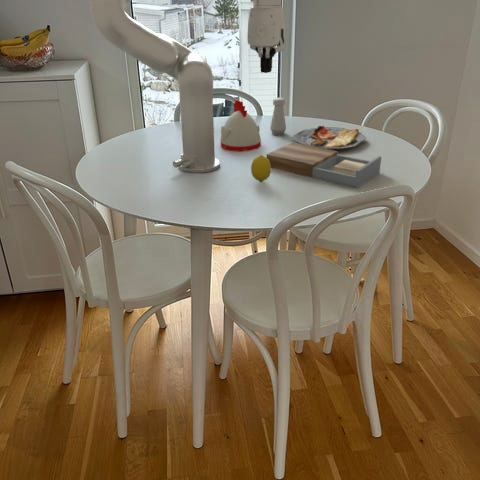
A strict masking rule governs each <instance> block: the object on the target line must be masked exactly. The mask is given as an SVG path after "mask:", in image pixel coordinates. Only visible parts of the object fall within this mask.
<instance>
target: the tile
mask: <svg viewBox="0 0 480 480" xmlns="http://www.w3.org/2000/svg"><path fill="white" fill-rule="evenodd" d="M364 165H366V164H363V163H358V162H353V161H348V160H344V161H342V162H340V163H339V164H337V165H335V166H334V172H338V173H343V174H347V175H352V176H356V170H358V169H359V168H361V167H362V166H364Z"/></svg>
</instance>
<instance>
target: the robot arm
mask: <svg viewBox="0 0 480 480" xmlns="http://www.w3.org/2000/svg"><path fill="white" fill-rule="evenodd" d="M131 2H132V0H89V8H90V15H91V19H92V22H93V24H94V26H95V28H96V29H97V31H98V32H99V34H100V35H101V36H102V37H103V38H104V39H105V40H106V41H107V42H108V43H109V44H111V45H112V46H114V47H115V48H117V49H119V50H121V51H123V52H124V53H126V54H127V55H129V56H130V57H131V58H133V59H135V60H137V61H138V62H140V63H142V64H143V65H145V66H147V67H148V68H150V69H151V70H153V71H154V72H156V73H164V74H166V75H167V76H170V78H171V77H172V78H174V79H175V80H177V81H178V90H179V92H178V93H179V109H180V113H179V114H180V121H181V122H180V123H181V139H182V153H181V154H180V158H179V159H176V160H174V161H173V162H172V166H173V168H175V169H176V168H178V169H180V170H181V171H184V172H187V173H188V172H189V173H193V174H195V173H197V174H201V173H209V172H212V171H215V170H217V169H219V168H220V166H221V161H220V160H219V159H217V158H216V157H215V156H216V155H215V131H214V130H215V128H214V124H215V123H214V104H213V103H214V75H213V71H212V69H211V66H210V65H209V63H208V62H207V61H206V59H204V58H203V56H201V55H200V54H198V53H196V52H194V51H193V50H191V49H190V48H188V47H186V46H185V45H183V44H182V43H180V42H178V40H175V39H174V38H171V37H170V36H168V35H166V34H163V33H156V32H155V31H153V30H151V29H149V28H148V27H145V25H143V24H142V23H140V22H138V21H137V20H134V19H133V18H132V17H131V16H129V15H128V14H127V12H126V10H125V9H126V7H127V6H128V5H129V4H130V3H131ZM250 2H252V3H253V6H251V7H250V10H249V14H248V22H247V35H246V37H247V39H246V40H247V44H248V45H249V48H250V49H251V50H253V51H255V52H256V53H257V55H258V57H259V58H260V61H259V62H260V63H259V64H260V66H259V67H260V73H264V74H267V73H271V72H272V71H273V70H272V69H273V58H274V57H275V55H276V54H277V53H279V52H283V51H284V49H285V47H284V45H285V39H286V27H285V26H286V23H285V22H286V21H285V13H284V7H282V0H250Z"/></svg>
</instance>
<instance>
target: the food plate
mask: <svg viewBox="0 0 480 480" xmlns="http://www.w3.org/2000/svg"><path fill="white" fill-rule="evenodd" d="M292 139H293V141H294V142H298V144H303V145H308V146H313V147H318V148H323V149H328V150H334V151H338V150H339V149H341V150H342V149H344V148H345V149H346V148H353V147H356V146H358V145H359V144H361V143H362V142H364V141H365V140H366V139H367V137H366V136H365V135H364V134H362V132H360V130H359V129H358V128H354V129H348V128H343V127H337V126H336V127H335V126H326V127H325V125H318V126H317V127H312V128H308V129H307V128H306V129H303V130H301V131H299V132H297V133H296V134H294V135H293V136H292Z"/></svg>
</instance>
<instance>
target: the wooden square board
mask: <svg viewBox="0 0 480 480" xmlns="http://www.w3.org/2000/svg"><path fill="white" fill-rule="evenodd" d="M337 154H338V150H334V149H333V150H332V149H323V148H318V147H313V146H309V145H305V144H302V143H299V142H298V143H297V142H291V143H289V144H286V145H284V146H282V147H280V148H277V149H274V150H272V151H271V152H268V153H266V158H268V160H269V161H270V164H271V169H274V170H278V171H283V172H287V173H291V174H295V175H299V176H302V177H309V178H312V174H313V168H314V167H315V166H317V165H319V164H321V163H323V162H324V161H326V160H328V159H330V158H332V157H334V156H335V155H337ZM312 179H313V178H312Z"/></svg>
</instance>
